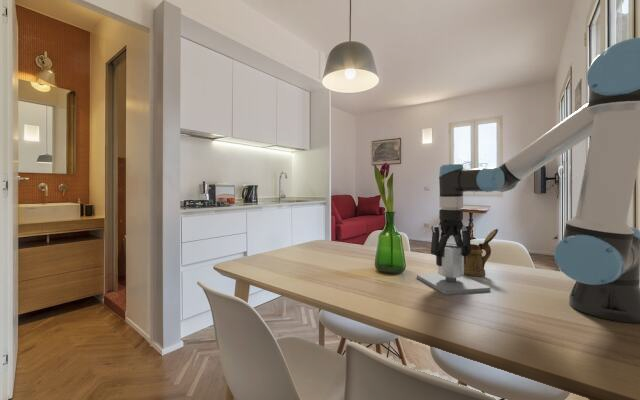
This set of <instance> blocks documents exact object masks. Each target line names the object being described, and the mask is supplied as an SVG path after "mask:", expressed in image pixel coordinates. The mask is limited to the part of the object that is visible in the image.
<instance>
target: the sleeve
mask: <svg viewBox="0 0 640 400" xmlns="http://www.w3.org/2000/svg"><path fill="white" fill-rule="evenodd" d="M442 257H445V276H444V277H450V278H460V277H461V276H462V247H460V246H457V245H456V244H446V247H445V248H444V253H443V256H442Z"/></svg>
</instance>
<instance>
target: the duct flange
mask: <svg viewBox="0 0 640 400" xmlns="http://www.w3.org/2000/svg"><path fill="white" fill-rule="evenodd" d="M416 279H418V280H420V281H421V282H423V283H425V284H427V285H429V286H430V287H432V288H434V289H435V290H437V291H438V292H440V293H442V294H443V295H446V296H449V295H450V296H451V295H462V294H473V293H483V292H484V293H486V292H491V290H492V289H491V287H490V286H487V285H486V284H483V283H481V282H478V281H477V280H474V279H472V278H470V277H467V276H466V275H462V276H461V277H460V278H450V277H444V276H441V275H439V274H438V272H437V273H421V274H416Z"/></svg>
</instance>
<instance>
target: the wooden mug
mask: <svg viewBox="0 0 640 400" xmlns="http://www.w3.org/2000/svg"><path fill="white" fill-rule="evenodd" d="M498 233H499V229H498V228H496V229H493V230H492V231H490V233H488V235H487V236H486V237H485V238H484V241H483V242H482V243H478V244H473V243H470V244H471V253H470V254H468V256H466V263H465V265H464V275H463V276H468V277H484V276H485V275H486V270H485V265H486V263H487V262H488V260H489V258H490V256H491V254H492V248H491V246H490V244H489V243H491V241H492V240H493V239H494V238H495V237H496V235H497V234H498ZM483 250H484V251H485V254H484V255H483V253H484V251H483Z"/></svg>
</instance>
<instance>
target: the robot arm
mask: <svg viewBox="0 0 640 400" xmlns="http://www.w3.org/2000/svg"><path fill="white" fill-rule="evenodd" d="M586 83H587V86H588V88H589V89H590V93H589V97H588V101H587V102H588V103H586V104H584V105H583V106H581V107H580V108H579V109H578V110H576V111H575V112H572V114H570V115H569V116H568V117H566V118H565V119H564V120H562V121H561V122H560V123H558V124H556V125H555V126H553V127H552V128H551V129H549V130H548V131H547V132H546V133H544V134H542V135H541V136H540V137H539V138H537V139H536V140H534V141H533V142H532V143H530V144H529V145H527V146H526V147H524V148H523V149H522V150H521V151H519V152H517V153H516V154H515V155H513V156H512V157H510V158H509V159H508V160H506V161H505V162H504V163H502V164H501V165H500V166H493V167H492V166H485V167H476V168H464V165H463V163H462V164H461V163H447V164H442V165H441V166H440V167H439V176H438V179H439V196H438V197H439V208H440V209H439V210H438V211H439V214H438V215H439V224H438V225H436V226H435V225H431V228H430V229H431V232H432V234H431V237H432V238H431V246H430V254H431V255H433V256H435V257H436V259H435V264H436V266H438V267H437V273H438V274H439V275H441V276H445V257H442V256H443V253H444V248H445V247H446V245H447V243H448V240H449V239H450V237H453V238H454V242H455V245H457V246H460V247H462V275H463V276H465V275H464V265H465V263H466V256H468V254H470V253H471V244H472V243H471V236H470V235H471V234H470V233H471V228H472V227H471V225H467V224H464V222H463V220H464V210H463V208H464V192H465V193H466V192H472V193H475V192H476V193H477V192H482V193H483V192H484V193H492V192H501V193H502V192H507V191H512V190H513V189H515V188H516V187H517V186H518V183H519V182H521V181H522V180H523V179H525V178H527V177H528V176H530V175H531V174H533V173H535V172H536V171H537V170H539V169H541V168H542V167H544V166H545V165H547V164H548V163H550V162H551V161H553V160H555V159H556V158H557V157H559V156H561V155H563V154H565V153H566V152H567V151H569V150H571V149H572V148H574V147H575V146H577V145H578V144H580V143H582V142H583V141H585V140H586V139H588V138H590V140H589V143H588V144H589V145H588V149H587V154H586V161H585V165H584V170H583V176H582V180H581V181H582V182H581V186H580V190H579V191H580V192H579V197H578V201H577V207H576V212H575V216H574V217H573V218H570V219H568V220H567V221H566V222H565V228H564V231H563V237H562V239H561V240H560V241H559V242H558V244H557V245H556V247H555V249H554V252H553V253H554V255H553V256H554V261H555V264H556V265H557V267H558V268H559V270H560V271H561V272H562V273H563V274H564V275H565V276H566V277H568V278H570V279H571V280H573V281H575V283H574V286H573V287H572V289H571V291H570V294H569V298H568V302H569V303H568V304H569V306H570V307H572V308H574V309H575V310H577V311H578V312H579V311H580V312H582V313H585V314H587V315H590V316H593V317H596V318H601V319H605V320H610V321H615V322H621V323H631V324H640V230H639V229H638V228H636V227H632V226H629V225H628V223H627V221H628V216H629V211H630V206H631V203H632V197H633V194H634V188H635V184H636V178H637V174H638V170H639V169H638V168H639V164H640V37H633V38H629V39H625V40H622V41H619V42H617V43H614V44H613V45H610V46H609V47H607V48H606V49H605V50H603V51H602V52H601V53H599V54H598V55H597V56H596V57H595V58H594V59H593V60H592V62H591V64H590V65H589V68H588V70H587V73H586Z"/></svg>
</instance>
